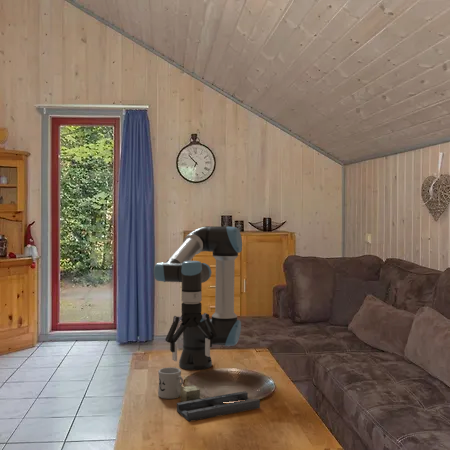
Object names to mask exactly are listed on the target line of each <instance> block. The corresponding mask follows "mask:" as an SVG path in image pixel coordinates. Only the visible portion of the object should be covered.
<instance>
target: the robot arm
mask: <svg viewBox="0 0 450 450" xmlns="http://www.w3.org/2000/svg"><path fill="white" fill-rule="evenodd" d="M242 250H243V240H242V234H241V231H240V229H239V228H238V227H236V226H229V225H228V226H214V225H213V226H210V225H209V226H202V227H198V228H196V229H194V230H192V231H191V232H189V233H188V234H187V235H186V236H184V238H183V240H182V243H181V244H180V246H179V247H177V249H176V250H175V251H174V253H172V255H171V256H170V257H169V258H168V259H167V260H166V261H165V262H163V261H162V262H157V263H156V264H155V265H154V267H153V277H154V279H155V281H157V282H163V283H166V282H167V283H168V282H169V283H181V316H176V315H174V316H173V321H172V323H171V325H170V328H169V330H168V333H167V335H166V337H165V339H164V342H166V343H168V344H169V343H170V345H169V346H170V347H169V350H170V352H171V353H172V361H174V362H178V366H179V368H181V369H184V370H189V371H202V370H207V369H210V368H211V367H212V365H213V362H212V356H211V348H212V347H213V345H214V346H215V345H216V346H225V347H229V346H236V345H237V343H238V342H239V339H240V336H241V331H242V321H241V320H239V319H238V315H237V314H236V313H235V266H236V265H235V260H237V258H238V257H239V253H241V252H242ZM201 252H210V253H211V252H212V257H213V258H214V259H215V288H214V289H215V295H214V296H215V297H214V299H215V301H214V302H215V303H214V305H215V306H214V307H215V308H214V310H215V311H214V312H213V313H212V315H211V318H210V314H209V313H207V312H204V313H203V314H202V297H203V296H202V291H203V289H202V288H203V287H202V284H203V283H206V282H207V281H208V280H209V279H210V278H211V276H212V268H211V267H210V266H209V264H207V263H204V262H201V261H199V260H193V259H194V257H195V256H196V255H198V254H200V253H201ZM180 322H181V323H180ZM179 323H180V325H179ZM178 326H179V327H178ZM177 328H178V329H177ZM180 336H182V351H181V354H180V357H179V361H178V343H177V341H178V340H179V338H180Z"/></svg>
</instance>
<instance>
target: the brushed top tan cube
mask: <svg viewBox="0 0 450 450" xmlns="http://www.w3.org/2000/svg"><path fill="white" fill-rule="evenodd" d="M197 399H201V389H200V388H199V387H197V386H195V385H188V386H182V387H181V395H180V402H185V401H191V400H197Z"/></svg>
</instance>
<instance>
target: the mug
mask: <svg viewBox="0 0 450 450" xmlns="http://www.w3.org/2000/svg"><path fill="white" fill-rule="evenodd" d="M183 385H184V378H183V377H182V370H181V369H180V367H179V368H178V367H174V366H173V367H171V366H169V367H163V368H159V369H158V390H157V395H158V397H159V398H161V399H164V400H166V399H167V400H174V399H177V398H180V397H181V387H183Z"/></svg>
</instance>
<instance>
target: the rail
mask: <svg viewBox="0 0 450 450" xmlns="http://www.w3.org/2000/svg"><path fill="white" fill-rule="evenodd" d="M248 394H249V393H248V391H245V390H244V391H238V392H232V393H227V394H222V395H221V394H220V395H216V396H215V395H214V396H210V397H204V398H203V397H202V398H200V399H197V400H191V401H185V402H181V401H180V402H176V412H177V413H178V414H179V415H181V416H182V417H183V418H184V419H185V420H186V421H188V422H195V421H199V420H200V421H201V420H206V419H209V418H215V417H221V416H225V415H230V414H236V413H237V414H238V413H240V412H245V411H253V410H256V409H260V408H261V399H259V398H258V397H256V398H250V397H249V395H248ZM238 400H245V401H240V402H234V403H229V404H224V403H223V402H229V401H238Z"/></svg>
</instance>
